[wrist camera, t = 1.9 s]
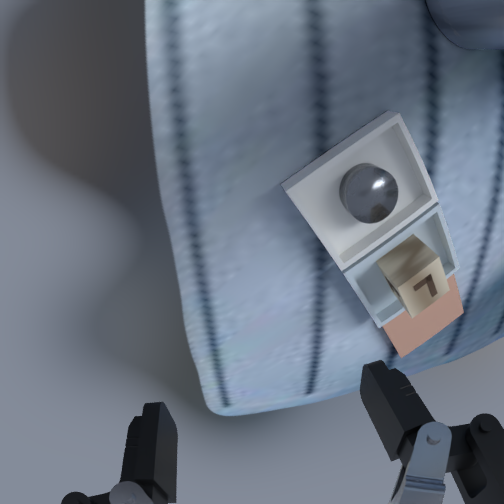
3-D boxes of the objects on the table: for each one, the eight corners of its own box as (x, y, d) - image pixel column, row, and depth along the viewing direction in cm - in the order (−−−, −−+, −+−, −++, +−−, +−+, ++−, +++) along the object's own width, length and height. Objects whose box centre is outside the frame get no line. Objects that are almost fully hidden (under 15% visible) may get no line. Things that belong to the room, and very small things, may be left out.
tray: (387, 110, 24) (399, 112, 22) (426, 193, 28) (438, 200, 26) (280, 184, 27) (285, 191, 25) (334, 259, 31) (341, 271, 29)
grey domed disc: (373, 152, 26) (383, 157, 24) (395, 195, 28) (406, 202, 26) (329, 183, 27) (336, 190, 25) (355, 225, 29) (363, 234, 27)
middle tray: (427, 196, 29) (439, 203, 27) (449, 259, 33) (460, 268, 31) (336, 262, 31) (343, 274, 29) (371, 316, 35) (378, 328, 33)
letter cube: (413, 233, 30) (439, 257, 25) (426, 265, 32) (450, 290, 27) (375, 261, 31) (397, 288, 26) (391, 291, 33) (411, 319, 28)
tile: (448, 265, 33) (452, 269, 32) (459, 308, 37) (463, 312, 36) (376, 317, 35) (380, 322, 34) (398, 353, 39) (401, 358, 38)
